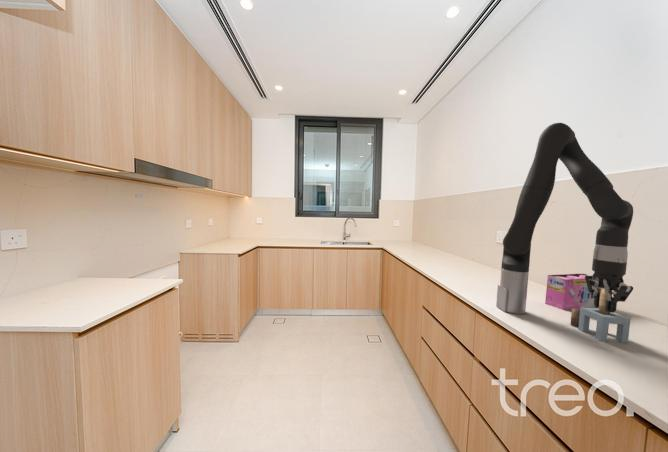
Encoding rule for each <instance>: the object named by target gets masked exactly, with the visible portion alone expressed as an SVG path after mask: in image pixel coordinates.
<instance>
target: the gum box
mask: <svg viewBox="0 0 668 452" xmlns="http://www.w3.org/2000/svg"><path fill="white" fill-rule="evenodd" d="M585 276H589V275H588V274H587V273H567V274H566V273H565V274H547V280H546V291H545V301H544V302H545V303H544V304H545V305H549V306H551V307H554V308H556V307H557V308H556V309H561V310H562V311H563V310H564V311H565V310H567V311H568V310H572V309H579V310H580V307H582V308H596V307H595V306H594V297H595V296H594V295H593V293H590V292H589V291H588V287H587V283H586V280H585ZM592 289H594V288H593V286H592ZM599 292H600V291H599Z"/></svg>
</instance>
